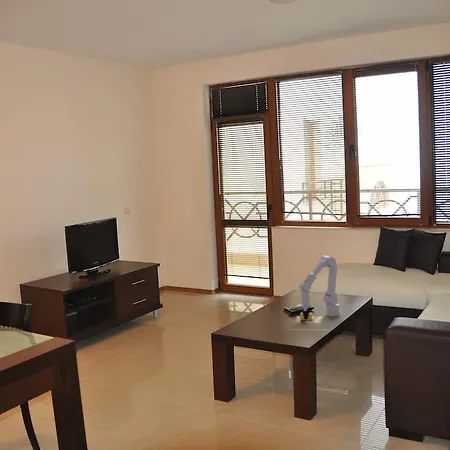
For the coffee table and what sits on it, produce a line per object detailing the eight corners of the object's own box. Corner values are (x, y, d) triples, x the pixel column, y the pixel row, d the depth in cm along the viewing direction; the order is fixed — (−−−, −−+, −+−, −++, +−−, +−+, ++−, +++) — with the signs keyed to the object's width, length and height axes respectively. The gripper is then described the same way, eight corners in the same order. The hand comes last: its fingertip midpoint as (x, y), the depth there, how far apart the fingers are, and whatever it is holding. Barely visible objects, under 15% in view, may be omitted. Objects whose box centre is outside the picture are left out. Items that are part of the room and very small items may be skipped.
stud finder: (312, 318, 389) (312, 312, 388) (312, 319, 384) (311, 314, 384) (301, 318, 391) (300, 312, 390) (300, 319, 386) (300, 314, 386)
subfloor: (322, 317, 395) (322, 315, 394) (321, 325, 376) (321, 323, 376) (297, 317, 399) (297, 315, 398) (295, 324, 380) (295, 323, 380)
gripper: (300, 296, 394) (301, 315, 395) (298, 302, 380) (299, 321, 381) (310, 296, 392) (311, 315, 394) (309, 301, 378) (310, 321, 380)
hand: (306, 318), depth 388 cm, fingers closed on stud finder, 5 cm apart
